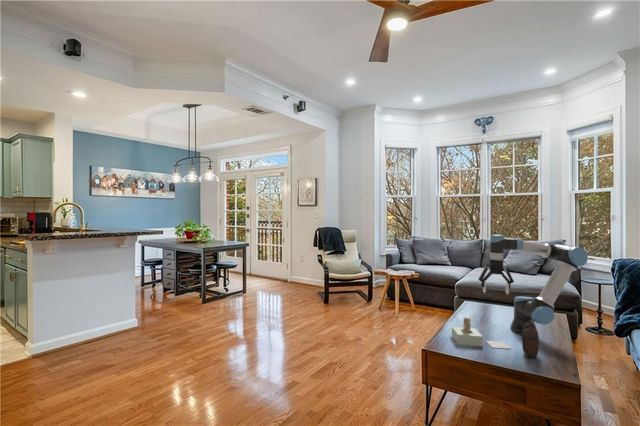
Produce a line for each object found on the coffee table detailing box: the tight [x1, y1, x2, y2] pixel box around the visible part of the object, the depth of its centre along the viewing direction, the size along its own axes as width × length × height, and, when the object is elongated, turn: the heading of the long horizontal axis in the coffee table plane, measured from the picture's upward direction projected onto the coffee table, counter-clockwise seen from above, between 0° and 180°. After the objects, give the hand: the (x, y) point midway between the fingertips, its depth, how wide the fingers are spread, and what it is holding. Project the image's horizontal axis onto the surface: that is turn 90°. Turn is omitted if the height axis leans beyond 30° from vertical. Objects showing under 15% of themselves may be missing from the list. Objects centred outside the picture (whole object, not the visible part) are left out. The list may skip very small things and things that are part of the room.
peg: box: [462, 316, 472, 333], centre depth 206 cm, size 4×4×14 cm
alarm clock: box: [521, 320, 540, 360], centre depth 186 cm, size 15×7×20 cm, turn 153°
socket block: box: [451, 326, 484, 347], centre depth 206 cm, size 14×14×6 cm
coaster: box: [485, 340, 511, 350], centre depth 200 cm, size 10×10×1 cm
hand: (495, 293), depth 211 cm, fingers open, 13 cm apart
